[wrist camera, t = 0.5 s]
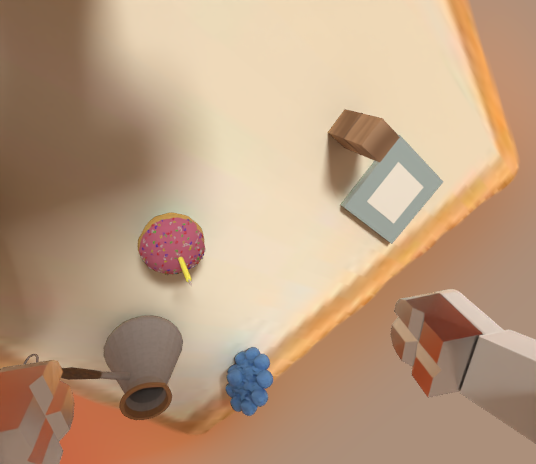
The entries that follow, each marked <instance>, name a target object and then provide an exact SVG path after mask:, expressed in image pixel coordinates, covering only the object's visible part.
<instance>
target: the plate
mask: <svg viewBox="0 0 536 464" xmlns="http://www.w3.org/2000/svg"><path fill="white" fill-rule="evenodd" d="M398 136H399V137H400V138H399V139H398V140H397V142H396V143H395V144H394V145H393V147H392V148H391V149H390V151H389V152H388V153H387V154H386V156H385V157H384V158H383V159H382V161H381V162H380V163H379V162H377V161H374V162H373V164H372V165H371V166H370V168H369V169H368V170H367V171H366V173H365V174H364V175H363V177H362V178H361V179H360V180H359V182H358V183H357V184H356V186H355V187H354V188H353V189H352V191H351V192H350V193H349V195H348V196H347V197H346V198H345V200H344V201H343V202H342V204H341V206H343V207H344V208H345V209H347V210H348V211H349V212H351V213H352V214H353V215H354V216H356V217H357V218H358V219H360V220H361V221H362V222H364V223H365V224H366V225H368V226H369V227H370V228H371V229H373V230H374V231H375V232H377V233H378V234H379V235H381V236H382V237H383V238H385V239H386V240H387V241H388V242H390V243H391V244H392V243H393V242H394V241H395V240H396V238H397V237H398V236H399V235H400V234H401V232H402V231H403V230H404V229H405V227H406V226H407V225H408V224H409V223H410V221H411V220H412V219H413V218H414V217H415V215H416V214H417V213H418V212H419V211H420V209H421V208H422V207H423V206H424V205H425V203H426V202H427V201H428V200H429V199H430V197H431V196H432V195H433V194H434V193H435V191H436V190H437V189H438V188H439V187H440V185H441V184H442V183H443V181H442V180H441V179H440V178H439V177H438V176H437V175H436V173H435V172H434V171H433V170H432V169H431V168H430V167H429V166H428V165H427V164H426V163H425V162H424V160H423V159H422V158H421V157H420V156H419V155H418V154H417V153H416V152H415V151H414V150H413V149H412V148H411V146H410V145H409V144H408V143H407V142H406V141H405V140H404V139H403V138H402V137H401V136H400V135H398Z"/></svg>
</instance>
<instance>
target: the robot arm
mask: <svg viewBox="0 0 536 464" xmlns="http://www.w3.org/2000/svg"><path fill="white" fill-rule="evenodd" d="M394 312H395V313H396V314H397V315H398V318H397V319H396V320H395V322H394V323H393V324H392V328H391V339H392V343H393V347H394V349H395V351H396V353H397V355H398V356H399V357H400V359H401V360H402V361H403V362H405V363H407V364H409V365H410V366H412V376H413V378H414V379H415V380H416V381H417V383H418V384H419V386H420V387H421V389H422V390H423V392H424V393H425V394H426V396H427V397H433V396H438V395H443V394H448V393H453V392H458V391H460V394H462V395H463V396H465V397H466V398H468V399H470V400H471V401H472V402H474V403H475V404H477V405H478V406H480V407H481V408H483V409H485V410H486V411H487V412H489V413H491V414H492V415H494V416H495V417H496V418H498V419H499V420H501V421H502V422H504V423H505V424H507V425H508V426H510V427H511V428H513V429H514V430H516V431H517V432H519V433H520V434H522V435H523V436H525V437H526V438H528V439H529V440H531V441H532V442H534V443H535V444H536V340H535V339H532V338H530V337H527V336H524V335H522V334H520V333H517V332H514V331H512V330H505V331H504V330H503V329H502V328H500V327H499V326H498V325H497V324H496V323H495V322H494V321H493V320H491V319H490V318H489V317H488V316H487V315H486V314H484V313H483V312H482V311H481V310H480V309H478V308H477V307H476V306H475V305H474V304H473V303H472V302H470V301H469V300H468V299H467V298H466V297H465V296H464V295H462V294H461V293H460V292H459V291H457V290H454V289H449V290H444V291H439V292H434V293H429V294H423V295H418V296H413V297H408V298H402V299H399V300H398V301H397V303H396V305H395V310H394ZM62 373H63V370H62V368H61V366H60V365H59V363H58V361H55V360H49V361H43V362H36V363H30V364H23V365H16V366H10V367H3V368H1V369H0V464H59V463H60V460H61V456H62V453H63V450H62V447H61V445H60V444H59V441H60V440H61V439H62V438H63V437H64V436H65V434H66V433H67V432H68V431H69V430H70V427H71V424H72V420H73V414H74V398H73V393H72V390H71V388H70V386H69V385H68V384H66V383H64V382H62V381H60V378H61V376H62Z"/></svg>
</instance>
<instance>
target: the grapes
mask: <svg viewBox="0 0 536 464" xmlns="http://www.w3.org/2000/svg"><path fill="white" fill-rule="evenodd" d="M235 362H236V364H234V365H232V366H231V367H230V368H229V369H228V371H227V372H228V375H227V380H228V382H229V383H228V384H227V386H226V392H227V394H228V395H229V396H230V397H232V399H231V401H230V403H231V406H232V408H233V409H234V410H235V411H238V412H240V411H242V412H243V413H244V414H245V415H247V416H251V415H253V414H254V413H255V412H256V410H257V406H259V407H261V406H263V405H264V404H266V402H267V400H268V394H267V392H266V390H265V389H266V388H268V387H270V386H271V384H272V383H273V376H272V374H271V372H269V371H268V370H267V368H268V367H269V365H270V361H269V358H268V357H267V356H266V355H265V354H260V352H259V350H258V349H257V348H255V347H251V348H249V349H248V350H247V351H246V352H240V353H238V354H237V355H236V357H235ZM263 388H265V389H263Z"/></svg>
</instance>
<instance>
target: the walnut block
mask: <svg viewBox="0 0 536 464" xmlns="http://www.w3.org/2000/svg"><path fill="white" fill-rule="evenodd" d="M328 133H329V134H330V135H331V136H332V137H333V138H335V139H336V140H337V141H338V142H339V143H340V144H341V145H342V146H343V147H344V148H346V149H349V150H351V151H354V152H356V153H358V154H360V155H363V156H365V157H368V158H370V159H372V160H375V161H377V162H379V163H380V162H381V161H382V159H383V158H384V157H385V156H386V154H387V153H388V152H389V151H390V149H391V148H392V147H393V145H394V144H395V143H396V142H397V140H398V139H399V138H400V137H399V136H398V135H397V134H396V133H395V132H394V130H393V129H392V128H391V127H390V126H389V125H388V124H387V123H386V122H385V121H384V120H383V119H382V118H379V117H374V116H370V115H366V114H363V113H358V112H354V111H349V110H344V111H343V112H342V114H341V115H340V117H339V118H338V119H337V121H336V122H335V123H334V125H333V126H332V127H331V129H330V130H329V131H328Z"/></svg>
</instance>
